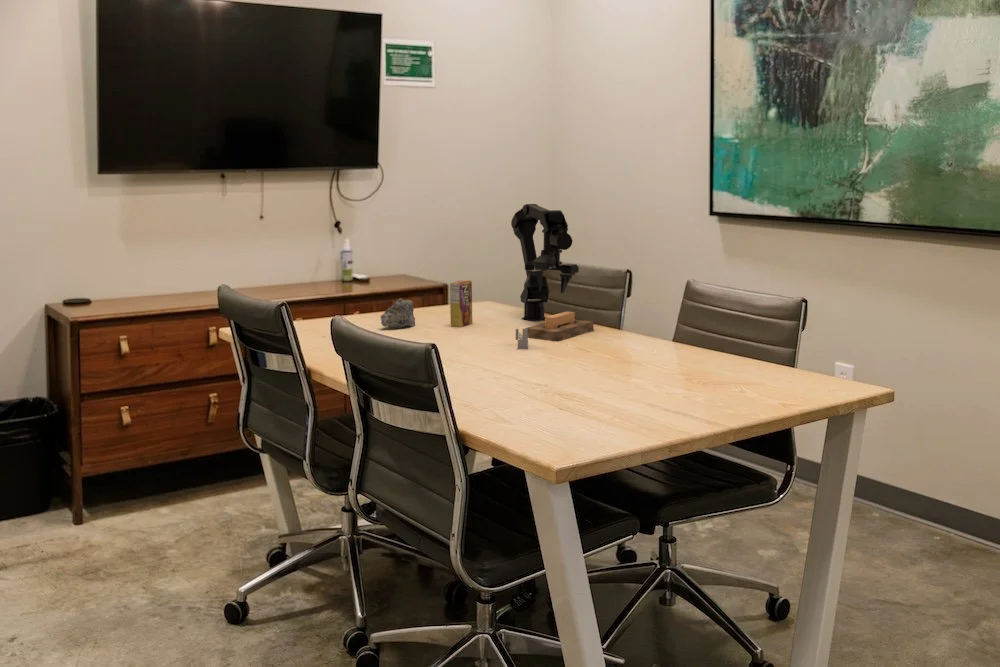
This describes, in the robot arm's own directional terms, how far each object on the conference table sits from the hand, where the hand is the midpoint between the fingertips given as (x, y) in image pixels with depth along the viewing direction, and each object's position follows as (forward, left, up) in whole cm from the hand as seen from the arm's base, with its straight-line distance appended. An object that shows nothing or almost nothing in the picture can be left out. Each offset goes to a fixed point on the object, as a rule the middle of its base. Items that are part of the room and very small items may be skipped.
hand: (550, 291), depth 356 cm
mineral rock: (-41, -33, -12) cm, 54 cm away
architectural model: (+8, -39, -13) cm, 42 cm away
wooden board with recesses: (+10, -10, -12) cm, 19 cm away
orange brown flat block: (+10, -10, -12) cm, 18 cm away
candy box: (-26, -17, -12) cm, 33 cm away
